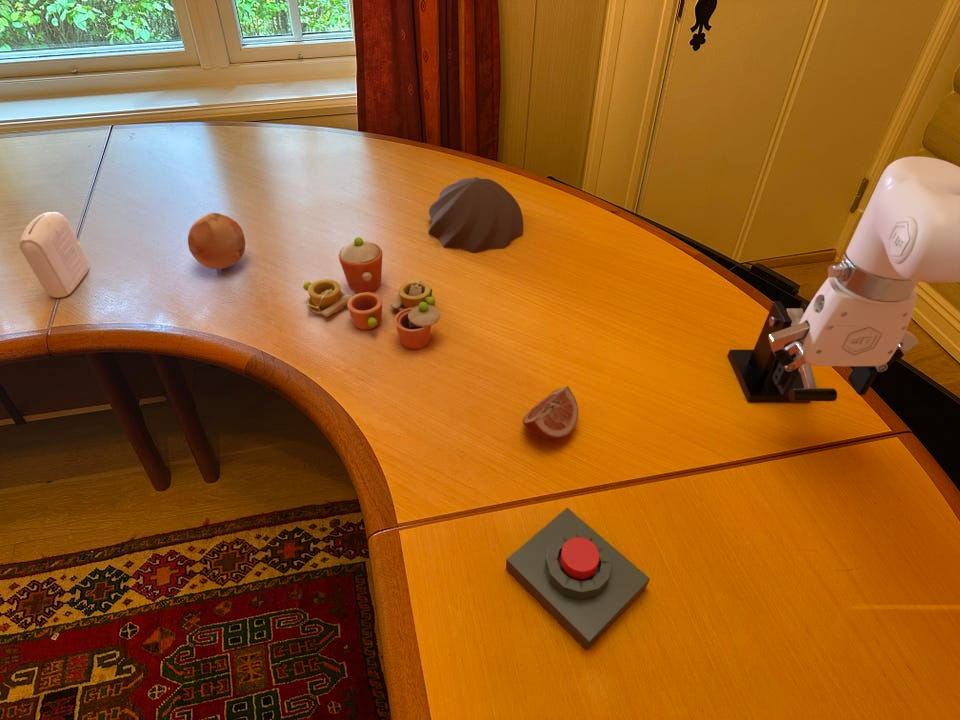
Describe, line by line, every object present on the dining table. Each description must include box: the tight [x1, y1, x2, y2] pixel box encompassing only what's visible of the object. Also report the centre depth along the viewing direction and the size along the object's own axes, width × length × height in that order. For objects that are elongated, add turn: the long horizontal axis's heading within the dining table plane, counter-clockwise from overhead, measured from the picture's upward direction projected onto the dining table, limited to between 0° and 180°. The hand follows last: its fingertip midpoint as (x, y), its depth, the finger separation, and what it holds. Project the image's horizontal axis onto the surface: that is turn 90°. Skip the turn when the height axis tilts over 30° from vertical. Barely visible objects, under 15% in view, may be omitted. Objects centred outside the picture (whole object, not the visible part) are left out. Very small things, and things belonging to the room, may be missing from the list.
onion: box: [187, 212, 246, 270], centre depth 109 cm, size 10×10×10 cm
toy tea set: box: [302, 236, 441, 350], centre depth 99 cm, size 26×16×10 cm, turn 59°
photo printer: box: [18, 211, 91, 299], centre depth 104 cm, size 10×4×12 cm, turn 4°
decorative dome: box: [427, 176, 524, 254], centre depth 119 cm, size 19×20×10 cm
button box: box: [505, 507, 651, 651], centre depth 66 cm, size 12×10×4 cm
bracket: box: [727, 301, 812, 403], centre depth 86 cm, size 10×9×13 cm
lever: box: [785, 307, 838, 402], centre depth 81 cm, size 13×6×2 cm, turn 1°
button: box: [560, 537, 600, 579], centre depth 64 cm, size 4×4×2 cm
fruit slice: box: [522, 385, 579, 440], centre depth 82 cm, size 8×7×5 cm
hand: (817, 387), depth 77 cm, fingers open, 9 cm apart
